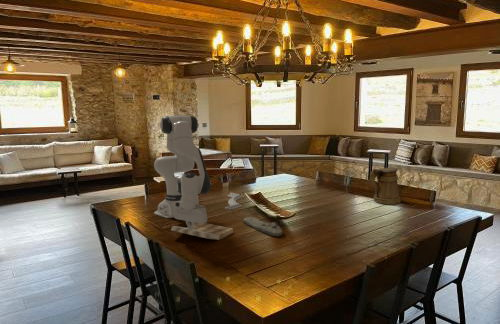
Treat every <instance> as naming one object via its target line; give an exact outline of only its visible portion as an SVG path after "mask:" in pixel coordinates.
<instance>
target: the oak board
mask: <svg viewBox="0 0 500 324" xmlns="http://www.w3.org/2000/svg"><path fill="white" fill-rule="evenodd" d="M185 228H188V226H186V227H185ZM194 230H199V231H203V232H208V233H212V234H217V235H220V237H219V240H222V239H224V238H226V237H228V236H230V235H231V234H233V233H234V228H232V227H227V226H222V225H219V224H212V223H207V222H206V223H204V224H201V223H195V225H194Z"/></svg>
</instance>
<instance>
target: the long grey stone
mask: <svg viewBox="0 0 500 324" xmlns="http://www.w3.org/2000/svg"><path fill="white" fill-rule="evenodd" d="M242 221H243V223H244V224H246V226H247V225H248V226H249V227H250V228H252V229H254V230H256V231H257V230H258V231H259V232H261V233H263V234H266V235H267V236H272V237H280V236H282V235H283V234H284V233H283V229H282V227H280V226H279V225H278V223H277V222H276V221H275V222H274V221H273V222H271V221H270V222H266V221H263V220H260V219H257V218H256V217H254V216H246V217H244V218H243V219H242Z"/></svg>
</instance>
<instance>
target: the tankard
mask: <svg viewBox="0 0 500 324" xmlns="http://www.w3.org/2000/svg"><path fill="white" fill-rule="evenodd" d="M397 172H398V167H382V168H378V169H377V168H372V170H371V172H370V175H369V182H370V185H371V187H372V188H373V190H374V193H375V194H374V196H373V201H374V202H375V203H376V204H380V205H386V206H389V205H392V206H393V205H398V204H400V203H401V202H402V201H401V196H400V195H399V194H400V193H399V185H398V184H399V183H398V180H399V177H398V176H399V175H398V174H397ZM375 179H376V180H377V182H375V181H376V180H375Z"/></svg>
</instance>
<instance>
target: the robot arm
mask: <svg viewBox="0 0 500 324" xmlns="http://www.w3.org/2000/svg"><path fill="white" fill-rule="evenodd" d="M159 127H160V130H161V132H162V133H163V134H165V135H166V150H167V151H168V152H169V153H172V154H174V155H169V156H166V155H165V156H161V157H157V158H156V159H155V160H154V162H153V167H154V170H155V171H156V172H157V173H158V174H159V175H160V176H161V177H162V178H163V179H164V182H165V186H166V194H164V199H163V200H162V201H161V202H160V203H159V204H158V205H157V210H155V211H154V213H153V214H154V215H156V216H159V217H163V218H165V219H170V218H172V219H173V218H174V219H176V220H181V221H185V224H186V227H188V229H191V230H193V229H194V225H195V224H196V223H201V224H204V223H207V222H208V215H207V214H208V213H207V208H206V207H205V206H204V205H200V204H199V195H206V194H208V193H209V192H210V191H211V190H212V181H211V179H210V176H209V174H208V171H207V170H208V169H207V167H206V164H205V160H204V157H203V153H202V151H201V149H200V148H199V147H197V146H196V144H195V142H194V136H193V135H194V133H196V132H197V131H198V127H199V123H198V119H197V117H196V116H195V115H180V114H179V115H166V116H162V118H161V119H160V122H159ZM195 164H196V167H197V169H198V173H199V175H197V174H196V173H194V172H193V171H192V170H193V169H194V168H195ZM190 171H192V172H190ZM177 173H182V174H181V177H176V176H175V174H177Z"/></svg>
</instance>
